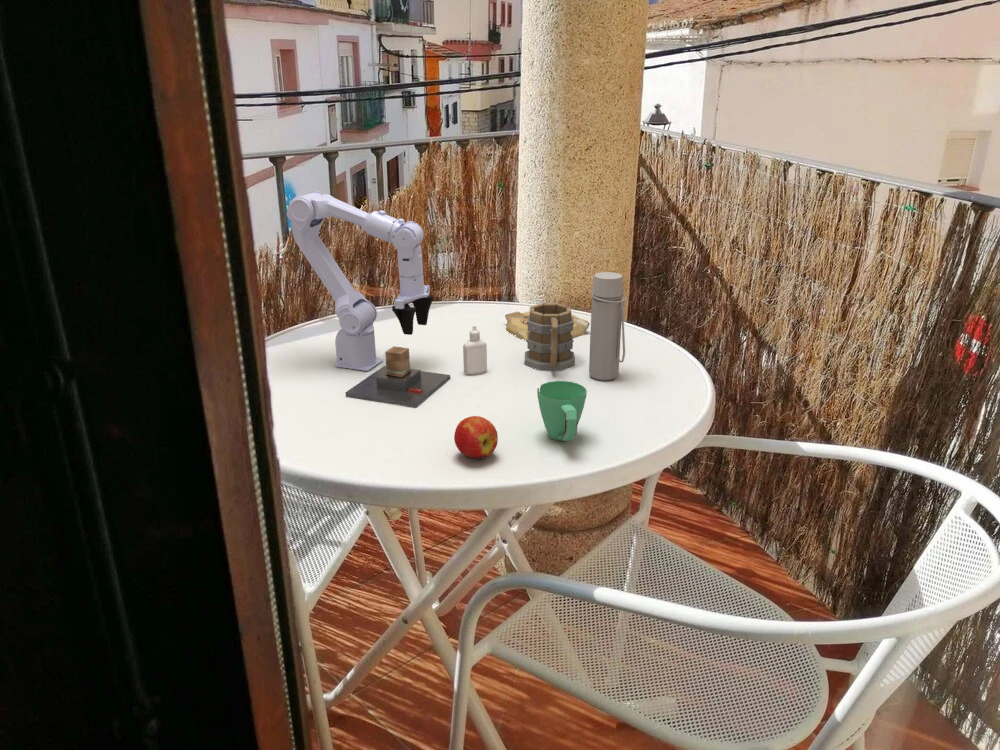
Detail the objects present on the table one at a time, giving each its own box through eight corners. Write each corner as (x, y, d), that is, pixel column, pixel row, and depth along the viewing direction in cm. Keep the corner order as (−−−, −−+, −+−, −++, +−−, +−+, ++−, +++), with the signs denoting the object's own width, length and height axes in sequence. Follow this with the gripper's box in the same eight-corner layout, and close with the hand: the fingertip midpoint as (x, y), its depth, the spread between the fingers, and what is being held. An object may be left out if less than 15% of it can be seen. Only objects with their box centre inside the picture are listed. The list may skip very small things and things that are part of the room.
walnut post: (386, 374, 176) (385, 351, 174) (395, 369, 180) (393, 346, 178) (402, 377, 175) (400, 353, 173) (410, 371, 178) (408, 348, 176)
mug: (532, 426, 159) (532, 382, 155) (578, 423, 160) (579, 379, 156) (546, 459, 145) (547, 411, 141) (596, 455, 147) (598, 408, 143)
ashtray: (592, 344, 207) (592, 326, 205) (504, 344, 207) (504, 326, 205) (584, 317, 229) (584, 301, 227) (505, 317, 229) (505, 301, 228)
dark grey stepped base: (345, 396, 174) (344, 382, 173) (384, 369, 190) (383, 356, 188) (416, 407, 168) (415, 393, 167) (450, 378, 183) (449, 365, 182)
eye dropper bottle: (485, 376, 185) (484, 329, 181) (462, 375, 186) (461, 328, 181) (487, 369, 189) (487, 323, 185) (465, 368, 190) (464, 322, 185)
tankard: (524, 352, 200) (524, 297, 194) (572, 353, 200) (574, 297, 194) (524, 381, 181) (524, 321, 176) (577, 382, 181) (579, 322, 175)
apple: (470, 470, 142) (469, 431, 139) (446, 453, 148) (445, 416, 145) (505, 458, 146) (504, 420, 143) (480, 442, 152) (479, 405, 149)
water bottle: (581, 377, 184) (585, 276, 175) (600, 368, 189) (605, 269, 180) (613, 386, 178) (618, 282, 169) (631, 377, 183) (638, 276, 174)
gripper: (412, 283, 173) (416, 340, 178) (439, 268, 186) (442, 321, 191) (384, 281, 176) (389, 337, 181) (413, 267, 188) (417, 319, 193)
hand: (415, 329), depth 186 cm, fingers open, 7 cm apart
